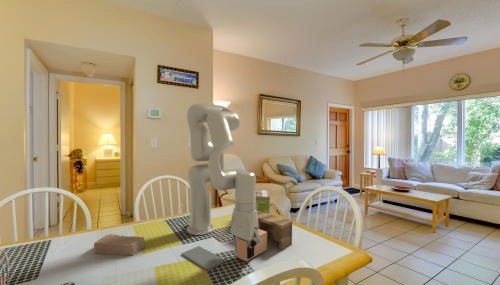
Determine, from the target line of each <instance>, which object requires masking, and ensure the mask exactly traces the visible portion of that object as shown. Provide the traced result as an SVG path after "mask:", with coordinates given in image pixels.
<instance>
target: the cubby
mask: <svg viewBox="0 0 500 285" xmlns="http://www.w3.org/2000/svg"><path fill="white" fill-rule="evenodd" d="M256 211H257V210H256ZM257 217H258V229H260V230H263V231H266V232H267V239H270V240H272V241H275V242H278V250H279V251H282V252H283V251H285V250H286V249H287V248H289V247H290V246H293V220H292V219H288V218H284V217H281V216H279V215H274V214H271V213H269V214H267V213H264V212H260V211H257Z"/></svg>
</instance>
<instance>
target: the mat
mask: <svg viewBox="0 0 500 285" xmlns="http://www.w3.org/2000/svg"><path fill="white" fill-rule="evenodd" d="M181 256H183V257H185V258H186V259H187V260H189V261H191V262H193V263H194V264H196V265H197V266H199V267H200V268H202V269H203V270H205V271H207V272H209V271H210V270H212V269H214V268H216V267H218V266H220V265H222V264H223V263H226V259H224V258H223V257H220V256H218V255H217V254H215V253H213V252H211V251H210V250H207V249H205V248H204V247H202V246H200V245H198V246H196V247H193V248H191V249H189V250H186V251H184V252H181ZM221 263H222V264H221Z"/></svg>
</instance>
